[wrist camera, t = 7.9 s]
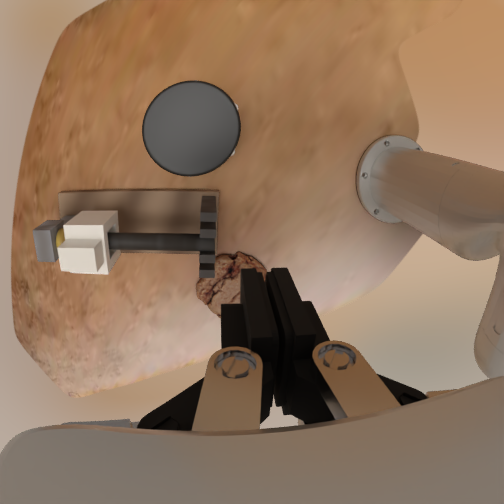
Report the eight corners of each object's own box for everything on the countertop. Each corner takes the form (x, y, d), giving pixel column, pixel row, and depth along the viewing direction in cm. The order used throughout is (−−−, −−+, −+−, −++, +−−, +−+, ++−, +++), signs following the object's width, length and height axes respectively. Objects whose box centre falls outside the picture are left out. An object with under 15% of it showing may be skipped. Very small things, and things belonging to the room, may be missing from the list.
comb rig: (218, 190, 37) (221, 209, 29) (216, 250, 40) (218, 285, 32) (61, 191, 34) (26, 210, 25) (67, 247, 37) (38, 279, 29)
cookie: (223, 326, 45) (224, 339, 43) (183, 273, 41) (181, 283, 38) (282, 296, 45) (286, 307, 42) (247, 237, 40) (250, 246, 38)
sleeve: (117, 210, 31) (94, 233, 24) (120, 254, 33) (101, 285, 26) (81, 210, 31) (53, 233, 24) (86, 253, 33) (61, 283, 26)
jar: (147, 139, 33) (119, 144, 22) (184, 81, 31) (172, 60, 20) (209, 176, 36) (209, 198, 25) (247, 120, 34) (264, 116, 23)
